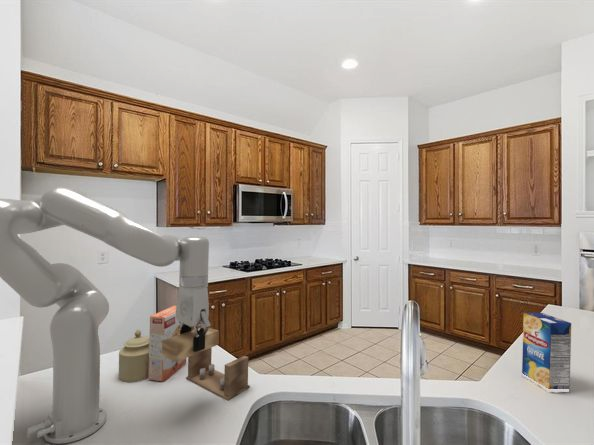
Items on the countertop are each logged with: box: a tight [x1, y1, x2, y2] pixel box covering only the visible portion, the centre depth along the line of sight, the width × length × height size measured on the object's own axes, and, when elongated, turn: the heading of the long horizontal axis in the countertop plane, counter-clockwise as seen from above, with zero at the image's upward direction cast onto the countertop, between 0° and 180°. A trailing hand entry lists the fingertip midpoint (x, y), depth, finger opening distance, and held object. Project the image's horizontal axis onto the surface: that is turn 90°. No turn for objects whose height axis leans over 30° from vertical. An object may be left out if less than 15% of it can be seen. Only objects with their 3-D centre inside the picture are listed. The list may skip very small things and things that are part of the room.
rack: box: [185, 347, 250, 401], centre depth 100 cm, size 9×20×10 cm, turn 54°
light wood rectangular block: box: [162, 327, 220, 362], centre depth 86 cm, size 14×6×4 cm, turn 146°
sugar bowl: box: [118, 329, 149, 383], centre depth 106 cm, size 15×11×15 cm
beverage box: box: [521, 312, 572, 390], centre depth 103 cm, size 7×11×22 cm, turn 3°
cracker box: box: [147, 305, 187, 383], centre depth 107 cm, size 14×6×21 cm, turn 168°
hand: (192, 345), depth 86 cm, fingers closed on light wood rectangular block, 6 cm apart
